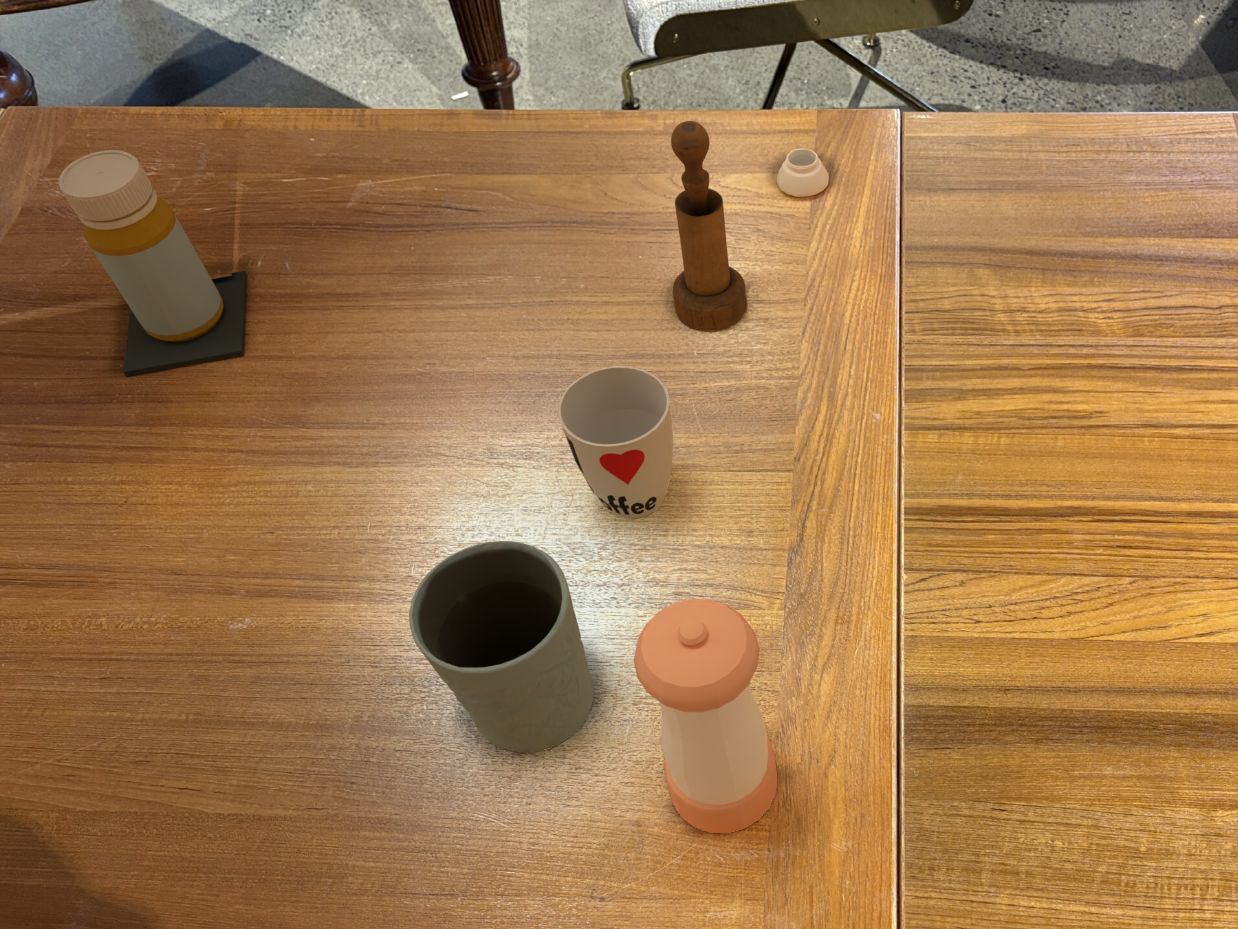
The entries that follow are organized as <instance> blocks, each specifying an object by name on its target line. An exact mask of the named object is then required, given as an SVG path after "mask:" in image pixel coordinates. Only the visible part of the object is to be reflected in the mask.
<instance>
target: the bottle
mask: <svg viewBox="0 0 1238 929" xmlns="http://www.w3.org/2000/svg"><path fill="white" fill-rule="evenodd" d="M58 186H59V189H60V192H61V193H62V195H63V197H64V198H65V199H66V201H67V202H68V204H69V205H70V207H71V210H73V211H74V213H75V214H76V216H77V218H78V219H79V221H80V222H81V226H82V230H83V236H84V238H85V240H86V241H87V243H88V246H89V247H90V249H91V250H92V251H93V253H94V254H95V256H96V258H97V259H98V260H99V262H100V264H101V265H102V267H103V269H104V270H105V272H106V273H107V275H108V277H109V278H110V279H111V281H112V282H113V284H114V286H115V287H116V288H117V290H118V291H119V293H120V295H121V297H122V298H123V300H124V301H125V302H126V304H127V305H128V307H129V308H130V311H131V310H132V312H133V313H134V315H135V316H136V318H137V319H138V321H139V322H140V324H141V325H142V326H143V328H144V329H145V331H146V332H147V333H148V334H149V335H150V336H152V337H154V338H157V339H160V340H164V341H170V342H182V341H188V340H191V339H195V338H197V337H199V336H201V335H203V334H205V333H207V332H208V331H209V330H210V329H212V328H213V327H214V326H215V325H216V323H217V322H218V320H219V318H220V316H221V314H222V310H223V301H222V298H221V296H220V294H219V292H218V290H217V288H216V287H215V285H214V283H213V281H212V280H211V279H212V278H211V276H210V274H209V273H208V271H207V268H206V267H205V265H204V264H203V262H202V260H201V258H200V256H199V255H198V253H197V251H196V249H195V248H194V246H193V244H192V242H191V240H190V238H189V236H188V235H187V233H186V232H185V230H184V228H183V226H182V224H181V223H180V221H179V219H178V217H177V216H176V215H177V214H175V212H174V211H173V209H172V207H171V206H170V204H169V203H168V202H167V201H166V200H165V199H163V198H162V196H160V195H159V194H157V192H156V190H155V188H154V187H153V185H152V183H151V180H150V178H149V176H148V175H147V173H146V172H145V169H144V168H143V166H142V164H141V163H140V161H139V160H138V159H137V157H136V156H135V155H134V154H131V153H129V152H127V151H124V150H118V149H106V150H100V151H95V152H92V153H89V154H86V155H83V156H81V157H79V158H77V159H76V160H74V161H72V162H71V163H69V164H68V165H67V166H66V167H65V168H64V169H63V171H62V172H61V173H60V175H59V178H58Z"/></svg>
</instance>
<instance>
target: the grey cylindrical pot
mask: <svg viewBox="0 0 1238 929" xmlns="http://www.w3.org/2000/svg"><path fill="white" fill-rule="evenodd" d="M408 622H409V630H410V632H411V636H412V639H413V641H414V643H415V646H417V648H418V649H419V651H420V652H421V654H422V655H423V656H424V658H425V659H426V660H427V661H428V663H429V664H430V666H431V667H432V669H434V671H435V673H437V675H438V676H439V677H440V678H441V680H442V681H443V682H444V683H445V684H446V685H447V686H448V688H449V689H450V691H452V692H453V693H454V695H455V699H456V700H457V701H458V702H459V703H460V704H461V706H462V707H463V709H465V710H466V711H467V713H468V714H469V716H470V717H471V720H472V722H473V724H474V726H475V728H477V730H478V731H479V733H480V734H481V735H482V736H483V737H484V738H485V740H487V741H489V742H490V743H491V744H495V745H496V746H495V745H494V746H495V747H498V748H500V749H502V750H505V749H507V751H509V752H514V751H516V752H515V753H527V752H528V753H533V752H532V751H535V752H534V753H537V752H536V751H538V750H544V749H547V750H549V749H548V748H550V749H552V748H551V747H553V746H555V747H557V746H556V745H558V744H559V743H561V742H563V741H564V742H566V741H567V740H568V739H567V738H569V737H570V736H571V735H572V736H574V735H575V734H576V733H577V732H578V731H579V730H580V729H581V728H582V726H583V725H584V723H585V722H586V721H587V719H588V717H589V715H590V713H591V710H592V707H593V706H592V705H593V703H594V697H595V696H594V694H595V688H594V682H593V678H592V674H591V672H590V669H589V664H588V659H587V654H586V651H585V646H584V643H583V641H582V634H581V631H580V627H579V623H578V619H577V616H576V612H575V609H574V603H573V599H572V596H571V593H570V588H569V584H568V581H567V579H566V576H565V574H564V572H563V570H562V568H561V566H560V565H559V563H558V562H557V561H556V560H555V559H554V558H553V556H551V555H549V554H548V553H547V552H545V551H544V550H542V549H540V548H538V547H536V546H534V545H531V544H527V543H524V542H521V541H519V542H518V541H514V540H513V541H512V540H496V541H495V540H494V541H486V542H482V543H477V544H474V545H470V546H468V547H467V546H466V547H465V548H463V549H460V550H459V551H456V552H454V553H451V555H449V556H447V557H445V558H444V559H443V560H441V561H440V562H439V563H438V564H436V565H435V566H434V567H433V568H432V569H430V570H429V572H427V574H426V575H424V577H423V579H422V580H421V581H420V582H419V584H418V586H417V588H416V589H415V592H414V594H413V596H412V598H411V603H410V607H409V612H408ZM592 702H593V703H592ZM589 712H590V713H589ZM588 714H589V715H588ZM587 716H588V717H587ZM586 718H587V719H586ZM584 721H585V722H584ZM582 724H583V725H582ZM581 725H582V726H581ZM580 727H581V728H580ZM579 728H580V729H579ZM578 729H579V730H578ZM577 730H578V731H577ZM576 731H577V732H576ZM575 732H576V733H575ZM574 733H575V734H574ZM573 734H574V735H573ZM572 736H571V737H572ZM571 737H570V738H571ZM570 738H569V739H570ZM566 739H567V740H566ZM565 740H566V741H565ZM564 742H563V743H564ZM561 744H562V743H561ZM559 745H560V744H559ZM559 745H558V746H559ZM553 748H554V747H553ZM544 751H545V750H544ZM538 752H539V751H538Z"/></svg>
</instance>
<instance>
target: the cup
mask: <svg viewBox="0 0 1238 929" xmlns="http://www.w3.org/2000/svg"><path fill="white" fill-rule="evenodd" d="M671 412H672V411H671V402H670V395H669V391H668V389H667V387H666V386H665V384H664V383H663V381H662V380H661V379H660V378H659V377H657V376H656V375H654V374H653V373H651V372H650V371H647V370H646V369H642V368H638V367H635V366H629V365H628V366H627V365H613V366H606V367H601V368H596V369H594V370H591V371H589V372H587V373H585V374H583V375H581V376H579V377H578V378H577V379H575V380H574V381H573V382H571V383H570V385H568V386H567V388H566V389H565V390H564V391H563V393H562V395H561V397H560V398H559V401H558V405H557V417H558V420H559V423H560V426H561V428H562V431H563V433H564V436H565V438H566V442H567V444H568V447H569V449H570V453H571V455H572V457H573V460H574V462H575V464H576V466H577V467H578V469H579V471H580V472H581V474H582V477H583V478H584V480H585V481H586V483H587V485H588V487H589V489H590V490H591V492H592V493H593V494H594V496H595V497H596V498H597V499H598V500H599V501H600V503H601V504H602V505H603V506H604V507H605V508H606V510H608V511H609V512H610V513H611V514H612V513H613V514H612V515H614V516H616V517H618V518H622V519H630V520H633V519H632V518H635V519H640V518H644V517H648V516H649V515H651V514H653V513H655V512H656V511H657V510H658V509H659V508H660V507H661V506H662V505H663V503H664V502H665V499H666V496H667V492H668V489H669V485H670V481H671V477H672V471H673V470H672V469H673V449H674V448H673V447H674V434H673V424H672V423H673V422H672V413H671ZM652 512H653V513H652Z"/></svg>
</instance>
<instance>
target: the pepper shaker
mask: <svg viewBox="0 0 1238 929" xmlns="http://www.w3.org/2000/svg"><path fill="white" fill-rule="evenodd" d="M760 648H761V647H760V645H759V642H758V638H757V635H756V632H755V630H754V629H753V627H752V626H751V625H750V623H749V622H748V621H747V620H746V618H745V617H744V615H743V614H742V613H740V612H739V611H737V610H736V609H734V608H733V607H731V606H730V605H729V604H726V603H723V602H719V601H716V600H713V599H709V598H689V599H686V600H685V599H684V600H681V601H676V602H674V603H672V604H670V605H669V606H667V607H665V608H663V609H661V610H660V611H658V612H657V613H656V614H655V615H654V616H653V617H652V618H651V619H649V621H648V622H646V623H645V625H644V627H643V629H642V630H641V632H640V634H639V636H638V637H637V640H636V646H635V652H634V659H633V663H634V668H635V673H636V678H637V680H638V681H639V682H640V684H641V685H642V687H643V689H644V690H645V692H646V693H647V694H649V695H650V696H651V697H652V698H654V699H655V700H656V701H658V702H659V706H660V711H661V717H660V718H661V719H660V720H661V721H660V744H661V749H662V753H663V757H664V763H663V772H664V777H665V781H666V786H667V789H668V792H669V795H670V799H671V802H672V805H673V807H674V806H675V807H674V809H675V808H676V809H675V811H676V812H677V811H678V812H677V814H678V815H679V814H680V815H679V816H680V818H681V817H682V818H683V819H684V820H683V819H682V818H681V819H682V820H683V821H685V820H686V821H687V822H688V823H687V822H686V821H685V822H686V823H687V824H689V823H690V824H691V825H692V826H693V827H692V826H691V825H690V824H689V825H690V826H691V827H692V828H694V827H695V828H694V829H696V828H698V829H697V830H699V829H701V830H700V831H702V830H704V831H707V832H710V833H709V834H711V833H729V834H731V833H730V832H733V831H737V830H741V829H744V828H746V827H748V826H749V825H751V824H753V823H754V822H756V821H758V820H759V819H760V818H761V817H762V816H763V814H764V813H765V812H766V811H767V810H768V809H769V808H770V809H771V807H770V806H772V805H771V803H772V804H773V802H774V800H775V798H776V796H775V794H776V795H777V791H776V788H777V789H778V772H777V762H776V757H775V752H774V748H773V745H772V742H771V740H770V739H769V737H768V734H767V732H768V731H767V726H766V723H765V719H764V717H763V714H762V712H761V710H760V708H759V706H758V703H757V701H756V699H755V697H754V694H753V692H752V688H751V686H752V685H751V681H752V679H753V677H754V674H755V673H756V671H757V668H758V667H759V659H760ZM774 797H775V798H774ZM773 799H774V800H773ZM772 801H773V802H772ZM770 809H769V810H770ZM769 810H768V811H769ZM768 811H767V812H768ZM767 812H766V813H767ZM766 813H765V814H766ZM765 814H764V815H765ZM763 817H764V816H763ZM763 817H762V818H763ZM762 818H761V819H762ZM761 819H760V820H761ZM760 820H759V821H760ZM759 821H758V822H759ZM756 823H757V822H756ZM754 824H755V823H754ZM754 824H753V825H754ZM751 826H752V825H751ZM749 827H750V826H749ZM749 827H748V828H749ZM746 829H747V828H746ZM744 830H745V829H744ZM704 831H703V832H704ZM741 831H742V830H741ZM707 832H706V833H707ZM737 832H738V831H737ZM733 833H734V832H733Z"/></svg>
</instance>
